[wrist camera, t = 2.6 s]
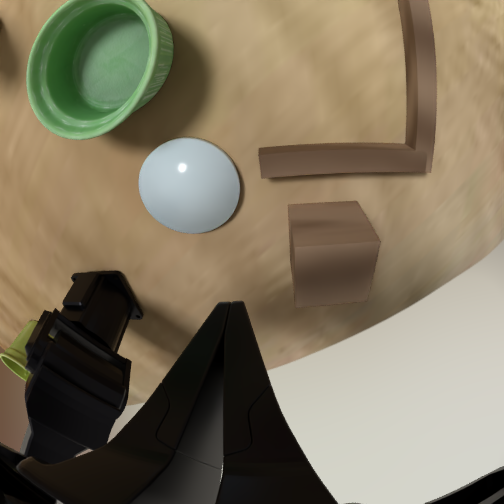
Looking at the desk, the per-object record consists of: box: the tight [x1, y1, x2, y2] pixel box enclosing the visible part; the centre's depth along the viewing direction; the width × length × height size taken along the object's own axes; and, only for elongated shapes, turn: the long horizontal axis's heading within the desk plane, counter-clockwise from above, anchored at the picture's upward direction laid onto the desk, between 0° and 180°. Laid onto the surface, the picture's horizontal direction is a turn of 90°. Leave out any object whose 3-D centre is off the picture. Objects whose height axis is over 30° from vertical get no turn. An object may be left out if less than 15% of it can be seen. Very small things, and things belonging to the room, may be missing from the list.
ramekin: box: [26, 0, 174, 140], centre depth 11 cm, size 9×9×4 cm
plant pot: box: [0, 321, 54, 381], centre depth 29 cm, size 9×9×9 cm
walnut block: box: [288, 201, 381, 308], centre depth 18 cm, size 5×5×5 cm
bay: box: [259, 0, 437, 178], centre depth 11 cm, size 17×12×2 cm
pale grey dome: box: [139, 137, 240, 234], centre depth 18 cm, size 7×7×1 cm
